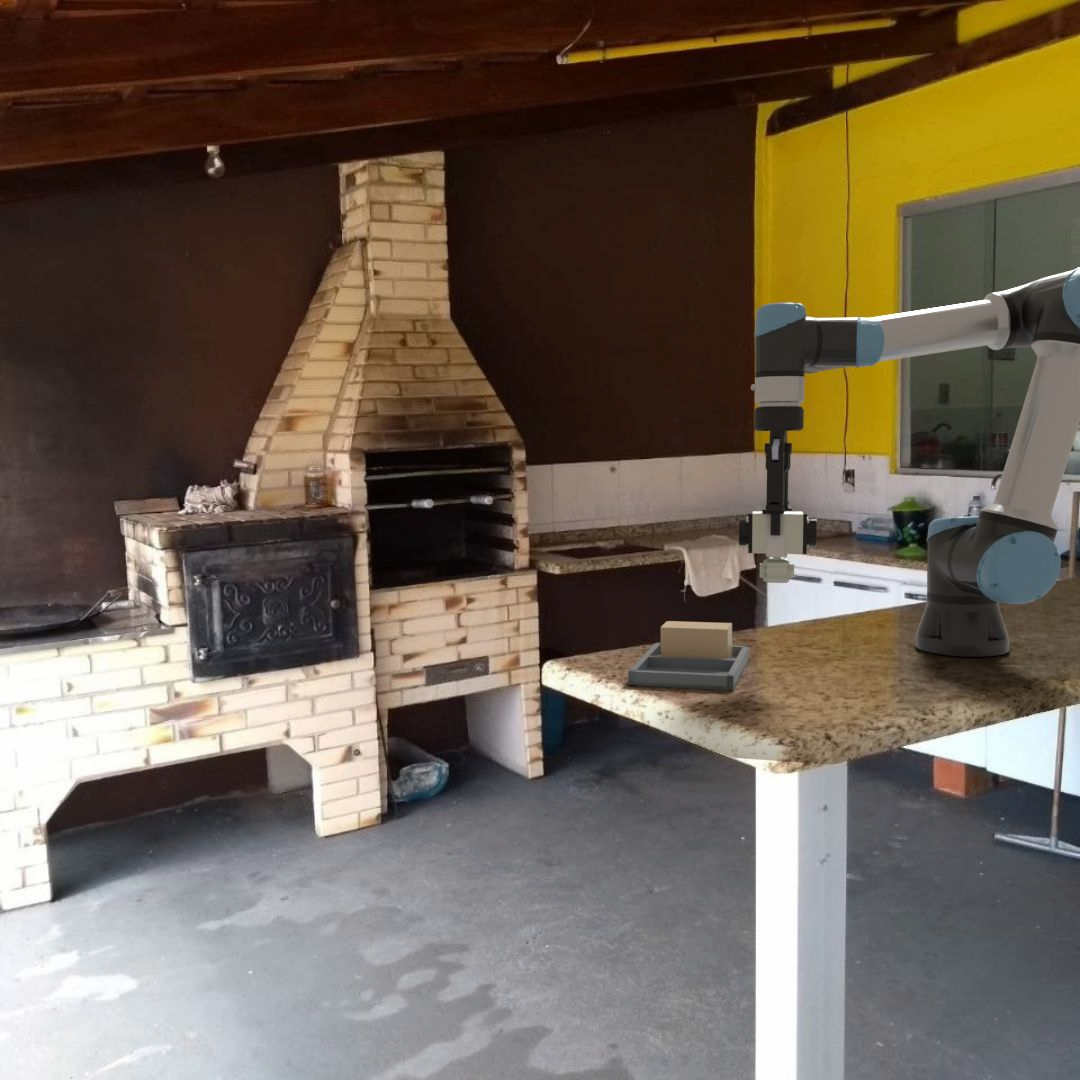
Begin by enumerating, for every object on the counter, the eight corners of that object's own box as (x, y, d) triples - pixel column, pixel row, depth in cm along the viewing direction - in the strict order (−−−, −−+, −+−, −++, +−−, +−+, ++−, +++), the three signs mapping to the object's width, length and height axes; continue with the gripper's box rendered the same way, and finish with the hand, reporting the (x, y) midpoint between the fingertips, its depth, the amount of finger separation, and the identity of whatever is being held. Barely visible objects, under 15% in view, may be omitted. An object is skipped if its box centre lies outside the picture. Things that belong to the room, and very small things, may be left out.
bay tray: (749, 658, 179) (749, 620, 178) (733, 690, 157) (733, 647, 156) (656, 654, 183) (655, 617, 183) (628, 685, 161) (627, 643, 161)
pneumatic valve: (815, 584, 161) (817, 506, 160) (738, 583, 164) (739, 506, 163) (813, 579, 167) (815, 504, 166) (739, 578, 169) (739, 503, 168)
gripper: (759, 407, 173) (758, 547, 175) (748, 404, 155) (746, 560, 157) (806, 406, 170) (804, 548, 173) (800, 403, 153) (798, 561, 155)
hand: (776, 554), depth 165 cm, fingers closed on pneumatic valve, 5 cm apart
